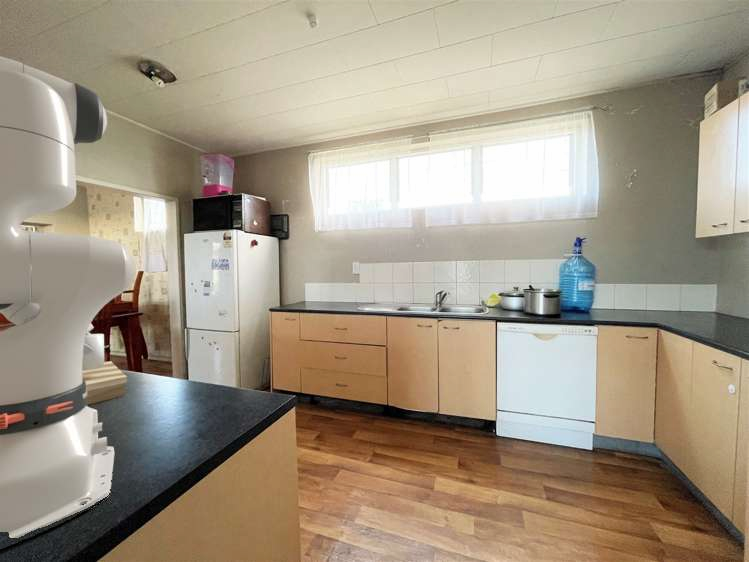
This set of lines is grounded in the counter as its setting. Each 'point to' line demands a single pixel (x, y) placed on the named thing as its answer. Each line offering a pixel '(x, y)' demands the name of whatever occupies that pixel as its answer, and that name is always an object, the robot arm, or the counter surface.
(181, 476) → the counter surface
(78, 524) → the counter surface
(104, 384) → the wooden board
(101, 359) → the white rounded block
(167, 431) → the counter surface
